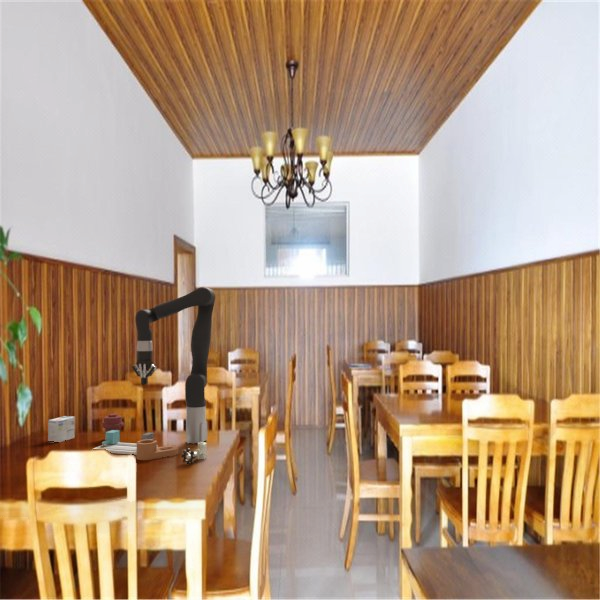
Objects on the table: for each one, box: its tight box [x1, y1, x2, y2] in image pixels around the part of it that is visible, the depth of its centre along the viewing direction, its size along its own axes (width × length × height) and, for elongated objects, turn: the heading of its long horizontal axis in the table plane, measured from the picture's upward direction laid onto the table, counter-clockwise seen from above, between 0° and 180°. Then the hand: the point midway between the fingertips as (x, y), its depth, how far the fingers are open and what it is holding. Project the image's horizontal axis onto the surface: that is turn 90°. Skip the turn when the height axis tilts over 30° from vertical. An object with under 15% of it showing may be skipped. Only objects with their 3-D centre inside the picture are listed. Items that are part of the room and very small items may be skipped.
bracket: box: [135, 439, 179, 461], centre depth 213 cm, size 18×8×7 cm, turn 125°
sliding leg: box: [101, 430, 121, 447], centre depth 226 cm, size 4×9×5 cm, turn 166°
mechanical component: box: [101, 413, 125, 436], centre depth 242 cm, size 12×10×10 cm
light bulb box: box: [47, 415, 76, 443], centre depth 241 cm, size 11×7×11 cm, turn 160°
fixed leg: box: [141, 431, 155, 440], centre depth 221 cm, size 3×9×6 cm, turn 165°
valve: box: [180, 441, 208, 465], centre depth 205 cm, size 7×7×12 cm
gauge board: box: [92, 442, 159, 456], centre depth 223 cm, size 25×13×2 cm, turn 75°
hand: (144, 385), depth 241 cm, fingers closed
